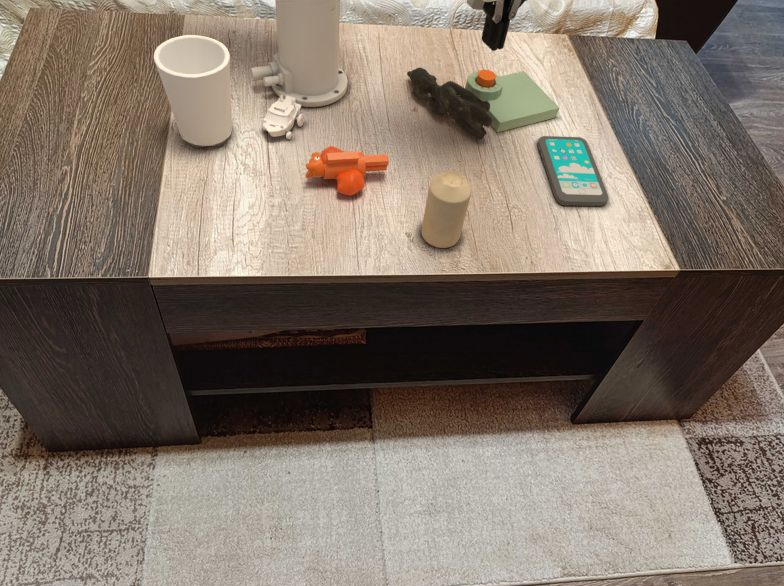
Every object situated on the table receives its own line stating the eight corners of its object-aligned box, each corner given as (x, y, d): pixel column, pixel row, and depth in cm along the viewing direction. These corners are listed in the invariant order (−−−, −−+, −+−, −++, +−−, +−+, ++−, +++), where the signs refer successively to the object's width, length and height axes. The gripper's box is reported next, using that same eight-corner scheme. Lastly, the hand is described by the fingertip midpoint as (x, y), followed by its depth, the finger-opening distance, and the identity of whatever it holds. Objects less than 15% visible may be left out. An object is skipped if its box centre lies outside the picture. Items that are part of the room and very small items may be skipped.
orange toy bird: (386, 136, 88) (302, 140, 86) (395, 182, 87) (310, 189, 84) (381, 155, 93) (302, 160, 91) (390, 200, 91) (309, 206, 89)
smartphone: (558, 200, 91) (536, 134, 100) (556, 205, 92) (534, 139, 100) (612, 201, 93) (586, 136, 101) (609, 206, 94) (584, 141, 102)
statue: (467, 139, 95) (387, 77, 103) (482, 150, 99) (404, 91, 108) (493, 103, 93) (409, 43, 101) (506, 116, 97) (425, 58, 106)
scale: (492, 133, 100) (497, 115, 98) (457, 93, 106) (461, 74, 103) (556, 117, 105) (562, 99, 102) (519, 79, 110) (525, 60, 107)
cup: (198, 165, 89) (181, 85, 79) (159, 130, 93) (138, 49, 82) (253, 138, 94) (245, 59, 83) (214, 106, 97) (201, 26, 87)
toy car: (308, 118, 98) (307, 95, 94) (285, 147, 93) (284, 124, 90) (280, 109, 98) (278, 86, 95) (256, 138, 94) (254, 114, 90)
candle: (456, 252, 85) (471, 197, 77) (417, 243, 85) (427, 188, 77) (462, 224, 88) (476, 169, 80) (424, 216, 88) (435, 160, 80)
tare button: (482, 90, 102) (484, 81, 100) (472, 79, 103) (474, 71, 102) (497, 86, 103) (499, 78, 101) (487, 76, 104) (489, 68, 103)
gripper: (558, -128, 75) (519, 21, 90) (456, -116, 70) (432, 40, 85) (597, -102, 72) (549, 49, 87) (493, -87, 67) (461, 70, 82)
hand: (492, 44), depth 86 cm, fingers closed
